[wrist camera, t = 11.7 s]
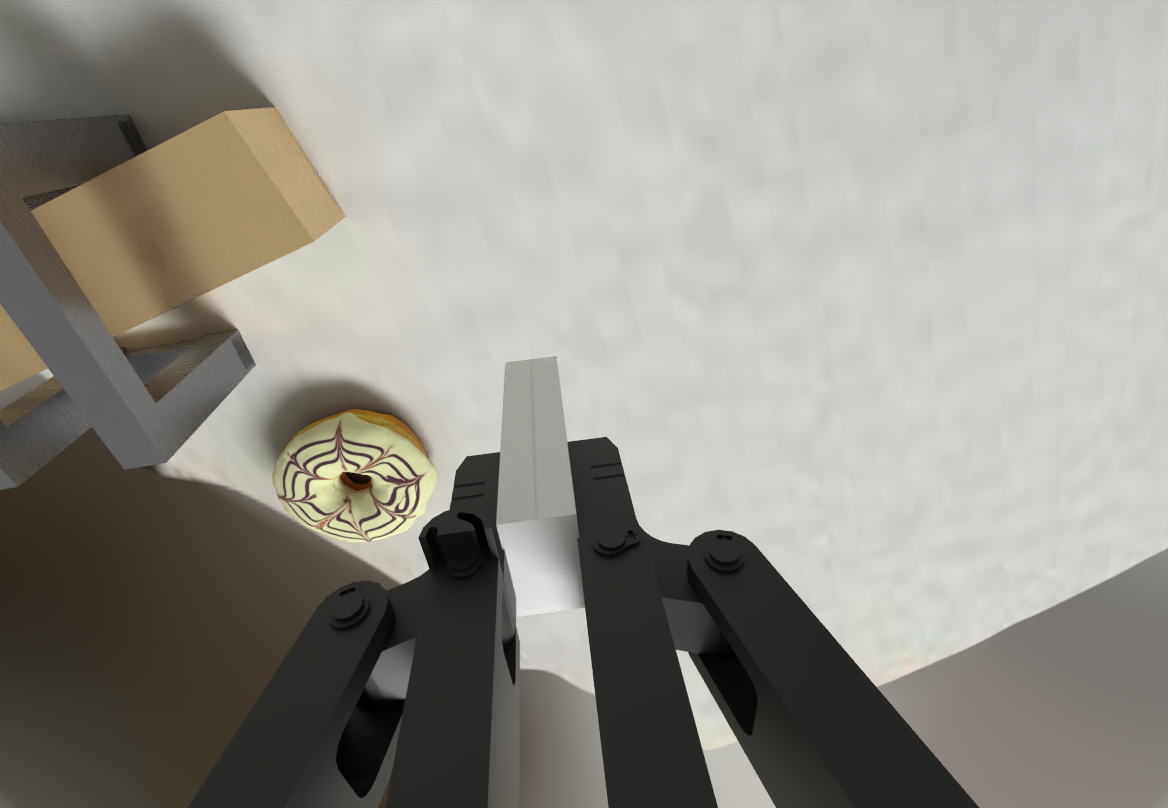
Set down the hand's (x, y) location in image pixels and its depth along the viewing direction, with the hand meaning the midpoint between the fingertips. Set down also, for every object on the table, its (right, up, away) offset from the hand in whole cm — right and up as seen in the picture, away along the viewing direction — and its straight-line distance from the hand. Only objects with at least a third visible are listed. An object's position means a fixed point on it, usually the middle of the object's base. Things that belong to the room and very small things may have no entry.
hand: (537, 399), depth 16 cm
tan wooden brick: (-23, +9, +14) cm, 28 cm away
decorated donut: (-15, -4, +24) cm, 29 cm away
